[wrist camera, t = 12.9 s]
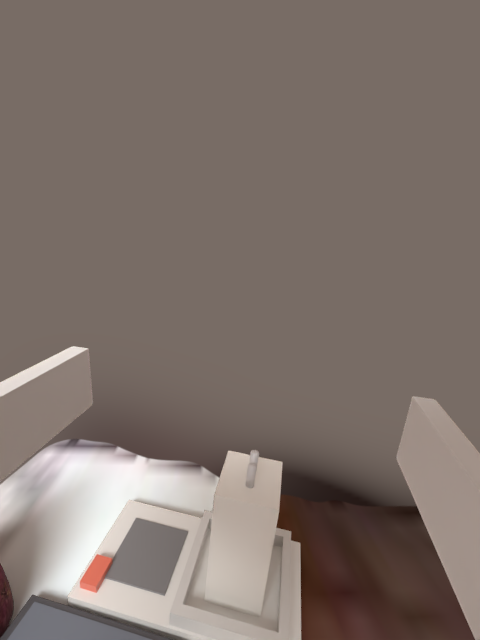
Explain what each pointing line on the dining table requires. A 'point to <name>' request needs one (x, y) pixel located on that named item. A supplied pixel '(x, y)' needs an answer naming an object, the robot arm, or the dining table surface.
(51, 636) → the phone
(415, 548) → the dining table surface
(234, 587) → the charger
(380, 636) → the dining table surface
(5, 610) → the vegetable
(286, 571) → the white base tray
